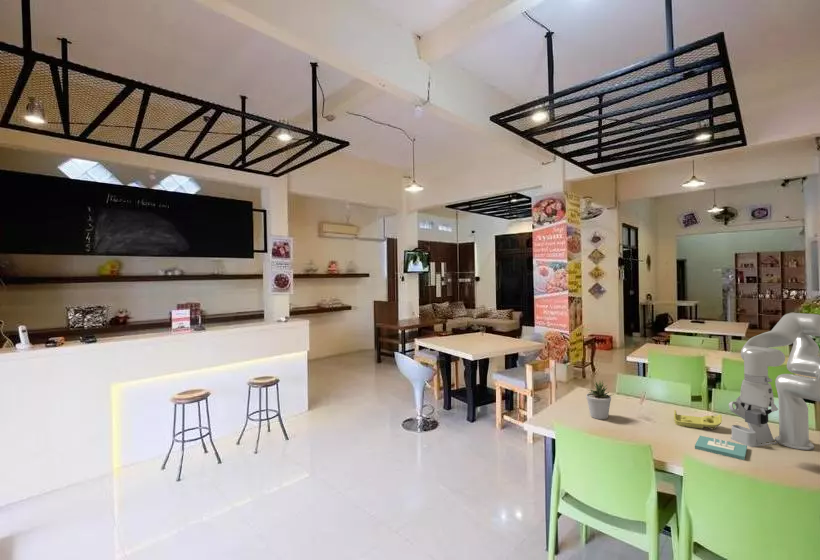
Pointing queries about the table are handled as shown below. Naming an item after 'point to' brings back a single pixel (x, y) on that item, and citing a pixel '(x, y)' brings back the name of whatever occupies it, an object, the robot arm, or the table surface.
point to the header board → (721, 447)
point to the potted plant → (599, 402)
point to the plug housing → (753, 416)
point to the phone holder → (750, 429)
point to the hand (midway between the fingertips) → (756, 421)
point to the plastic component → (697, 421)
